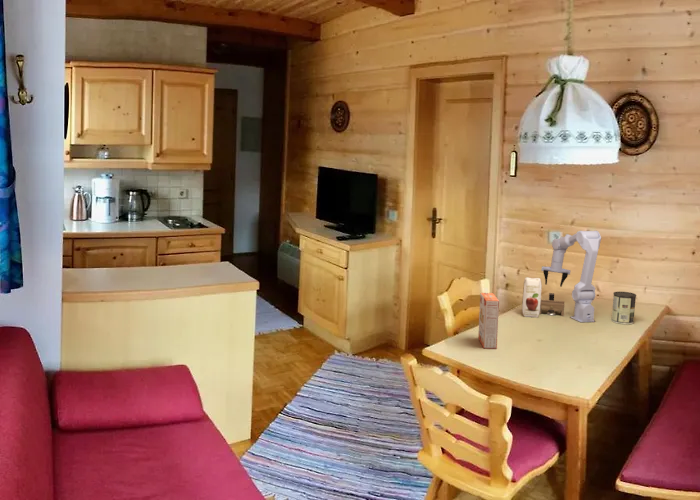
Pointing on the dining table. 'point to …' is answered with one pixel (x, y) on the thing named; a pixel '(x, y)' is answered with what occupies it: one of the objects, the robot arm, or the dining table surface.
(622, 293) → the coffee can
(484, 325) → the cracker box
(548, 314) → the steel token
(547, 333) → the dining table surface
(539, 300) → the juice carton
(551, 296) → the brown-topped white block
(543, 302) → the walnut u-shaped block
